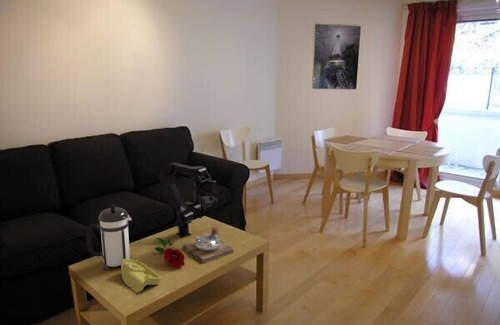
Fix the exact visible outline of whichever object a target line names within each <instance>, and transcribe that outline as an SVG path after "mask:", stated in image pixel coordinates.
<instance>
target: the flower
mask: <svg viewBox="0 0 500 325" xmlns="http://www.w3.org/2000/svg"><path fill="white" fill-rule="evenodd" d="M155 238H156V240H158V242H160V244H161V245H162V246H163V247H164V248H162V247H160V246H159V247H158V246H157V247H154V250H155V251H157V252H158V253H160V254H163V255H164V256H163V261H164V262H165V263H167V264H168V266H169V267H170V268H171V267H172V268H176V269H177V268H178V269H179V268H180V269H181V268H182V267H184V266H185V258H186V257H185V254H184V253H183V252H182V251H181V250H179V249H178V248H172V247H171V246H172V245H173V242H172V241H171V239H170V238H167V241H166V240H165V239H164V238H161V237H155ZM171 242H172V243H171ZM166 246H170V247H169V248H168V247H166Z"/></svg>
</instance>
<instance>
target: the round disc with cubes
mask: <svg viewBox="0 0 500 325" xmlns="http://www.w3.org/2000/svg"><path fill="white" fill-rule="evenodd" d="M219 231H220V230H219V225H218V224H213V225H212V226H211V233H210V234H209V233H203V236H202V235H201V236H199V235H197V236H195V240H194V241H195V248H196V249H197V250H198V251H201V252H214V251H216V250H218V249H219V248H220V247H221V241H222V240H221V238H220V235H219Z"/></svg>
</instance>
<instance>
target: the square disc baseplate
mask: <svg viewBox="0 0 500 325" xmlns="http://www.w3.org/2000/svg"><path fill="white" fill-rule="evenodd" d="M182 248H183V249H184V250H186V251H187V252H188V253H190V254H191V255H192V256H193V257H195V258H196V259H197V260H199V261H200V262H202V263H203V264H205V263H207V262H210V261H214V260H216V259H219V258H222V257H224V256H227V255H231V254H233V253H234V250H235V249H234V248H233V247H231V246H229V245H228V244H227V243H226V242H223V241H222V240H221V247H220V248H219V249H218V250H216V251H214V252H201V251H198V250H197V249H196V248H195V240H192V241H189V242H186V243H183V244H182Z"/></svg>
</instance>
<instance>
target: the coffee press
mask: <svg viewBox="0 0 500 325" xmlns="http://www.w3.org/2000/svg"><path fill="white" fill-rule="evenodd" d="M98 220H99V223H92V224H90V225H89V226H88V227H87V229H86V231H85V232H86V233H85V237H86V248H87V252H88V253H89V254H90V255H91V256H93V257H102V261H103V266H102V271H107V270H108V268H109V267H111V268H112V267H113V268H114V267H119V266H120V267H121V263H122V260H123V259H132V258H131V257H132V256H131V253H130V252H131V251H130V250H131V249H130V240H129V239H130V238H129V221H132V218H131V217H130V215H129V213H128V212H127V211H126V210H125V209H124V208H122V207H116V205H115V204H111V205H110V206H109V208H106V209H104V210H102V211H101V212H100V213H99V216H98ZM97 228H99V230H100V238H101V248H102V249H101V250H102V251H94V249H93V247H92V239H91V238H92V237H91V231H92V230H93V229H97Z"/></svg>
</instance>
